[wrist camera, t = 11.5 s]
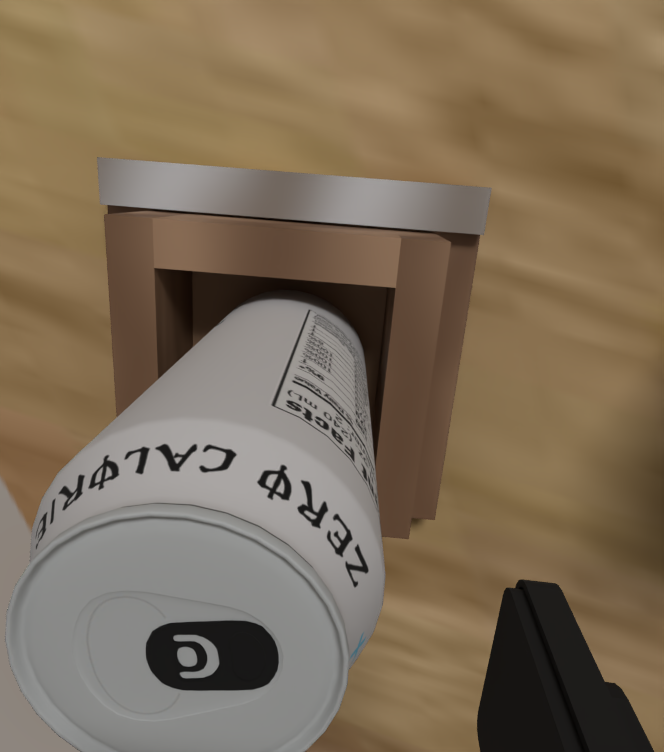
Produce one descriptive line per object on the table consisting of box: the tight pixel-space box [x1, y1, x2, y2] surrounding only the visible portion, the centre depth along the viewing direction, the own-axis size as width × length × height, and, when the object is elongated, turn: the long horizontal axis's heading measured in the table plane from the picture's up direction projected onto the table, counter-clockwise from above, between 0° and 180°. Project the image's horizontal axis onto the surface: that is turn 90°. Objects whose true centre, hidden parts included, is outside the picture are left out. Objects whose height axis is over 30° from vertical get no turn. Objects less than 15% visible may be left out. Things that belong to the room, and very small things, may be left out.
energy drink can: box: [5, 290, 385, 752], centre depth 15 cm, size 6×6×15 cm
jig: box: [97, 157, 491, 539], centre depth 21 cm, size 14×14×6 cm
